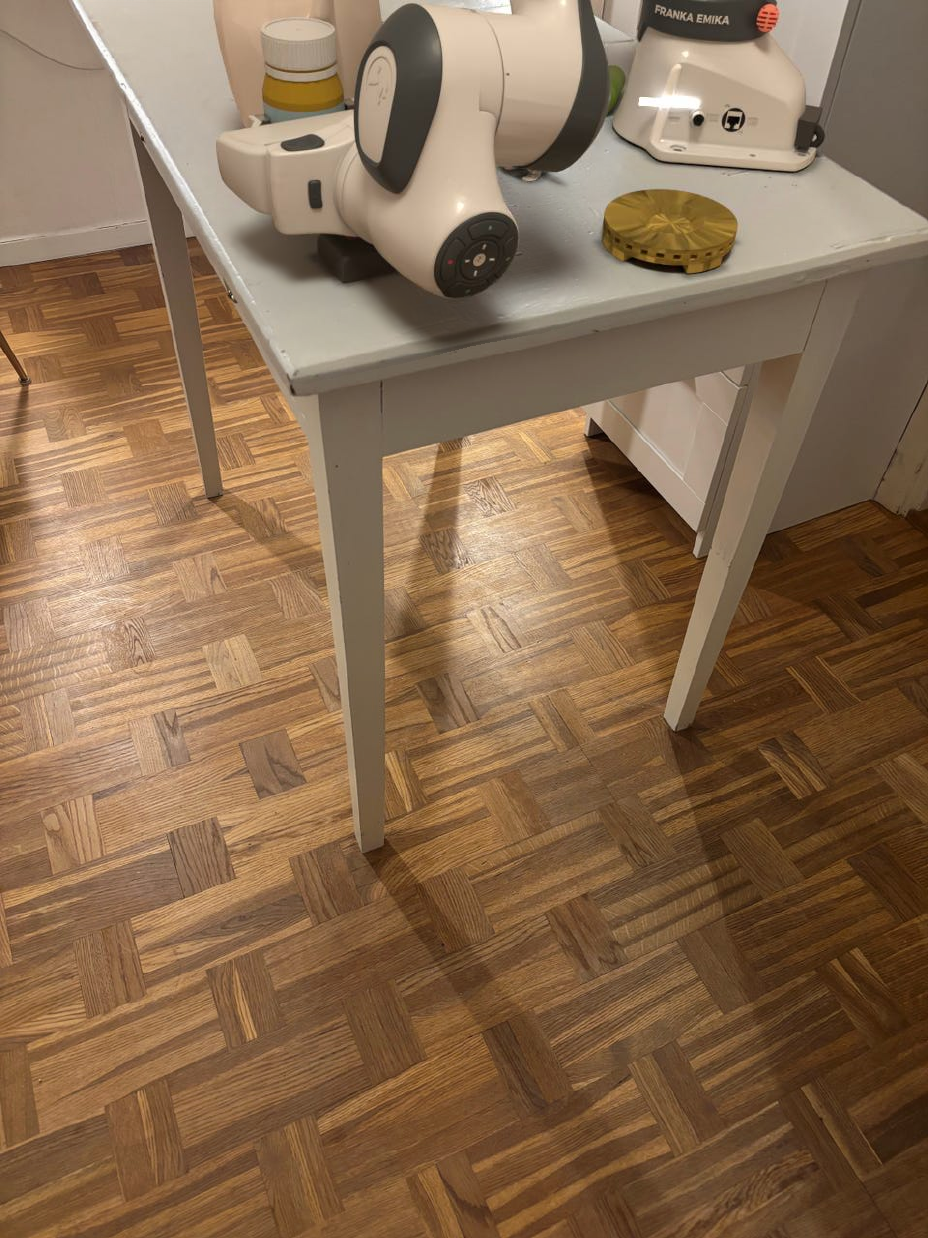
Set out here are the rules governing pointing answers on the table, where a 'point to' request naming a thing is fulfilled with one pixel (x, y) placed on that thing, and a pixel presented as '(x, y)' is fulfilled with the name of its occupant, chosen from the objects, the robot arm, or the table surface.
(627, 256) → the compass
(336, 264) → the usb drive
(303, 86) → the bottle
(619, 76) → the pickle
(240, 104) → the watering can
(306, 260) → the table surface
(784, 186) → the table surface
